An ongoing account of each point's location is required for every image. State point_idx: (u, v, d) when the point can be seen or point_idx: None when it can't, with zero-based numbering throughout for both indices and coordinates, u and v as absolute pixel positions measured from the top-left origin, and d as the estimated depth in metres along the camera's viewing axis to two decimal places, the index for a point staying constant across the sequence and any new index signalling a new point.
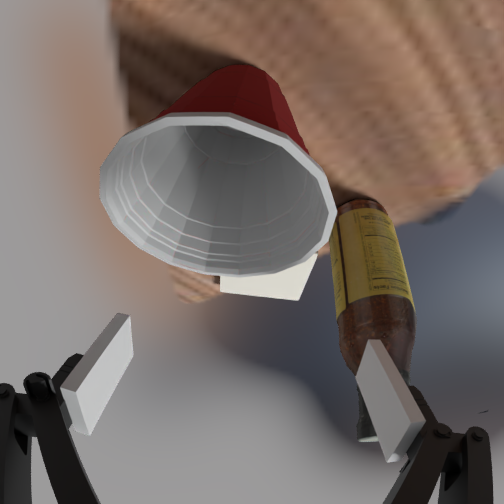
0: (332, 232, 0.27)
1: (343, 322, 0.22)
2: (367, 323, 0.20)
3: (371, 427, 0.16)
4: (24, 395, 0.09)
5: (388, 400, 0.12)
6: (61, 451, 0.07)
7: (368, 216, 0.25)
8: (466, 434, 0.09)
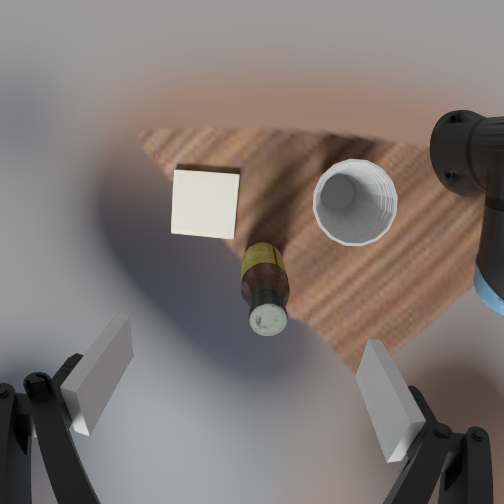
0: (268, 245, 0.48)
1: (271, 266, 0.40)
2: (285, 277, 0.40)
3: (281, 304, 0.33)
4: (24, 395, 0.09)
5: (388, 400, 0.12)
6: (61, 451, 0.07)
7: None
8: (466, 434, 0.09)
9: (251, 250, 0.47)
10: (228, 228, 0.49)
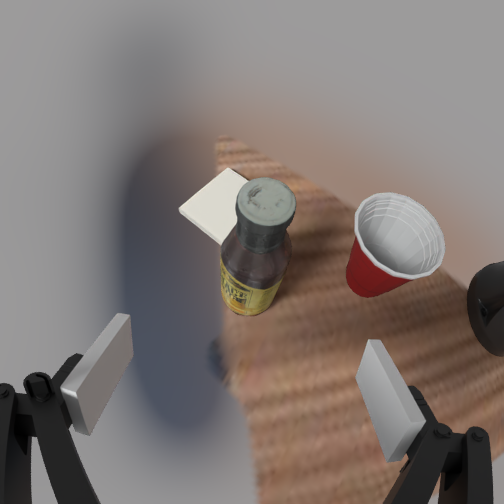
0: None
1: None
2: None
3: None
4: (24, 395, 0.09)
5: (388, 400, 0.12)
6: (61, 451, 0.07)
7: (272, 299, 0.36)
8: (466, 434, 0.09)
9: None
10: None
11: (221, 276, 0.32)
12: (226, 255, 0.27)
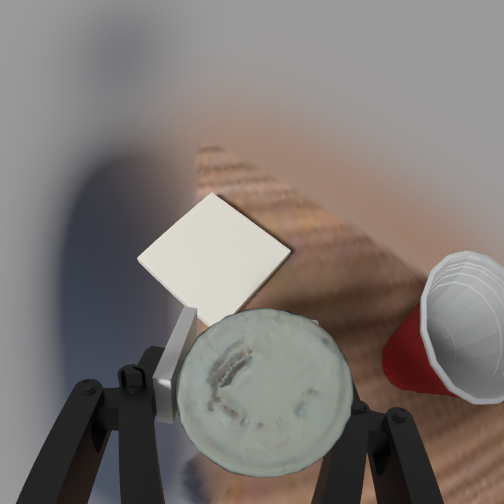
0: None
1: None
2: None
3: None
4: (109, 389, 0.11)
5: None
6: (140, 444, 0.08)
7: None
8: (386, 417, 0.11)
9: None
10: (221, 311, 0.26)
11: None
12: None
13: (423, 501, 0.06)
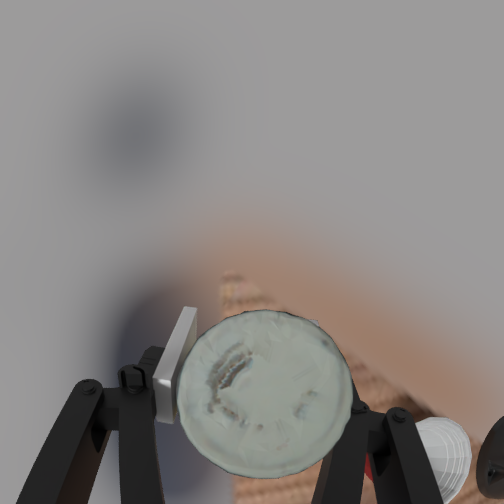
0: None
1: None
2: None
3: None
4: (109, 389, 0.11)
5: None
6: (140, 444, 0.08)
7: None
8: (386, 417, 0.11)
9: None
10: None
11: None
12: None
13: (423, 501, 0.06)
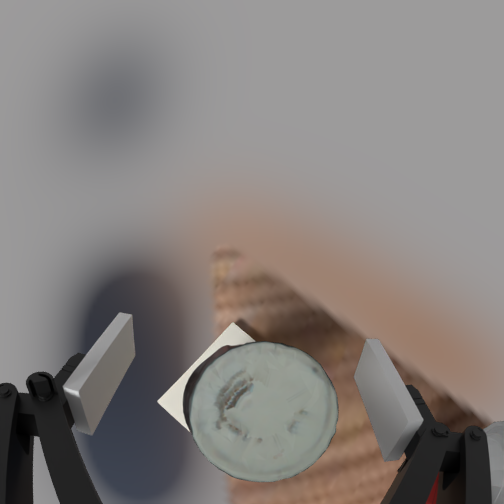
0: None
1: None
2: None
3: None
4: (26, 395, 0.09)
5: (386, 399, 0.12)
6: (63, 451, 0.07)
7: None
8: (464, 433, 0.09)
9: None
10: None
11: None
12: None
13: None
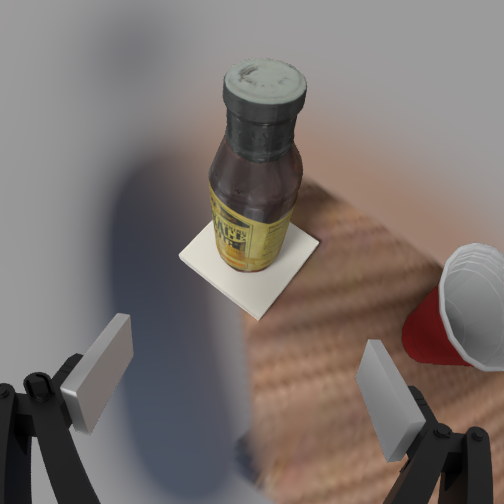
0: None
1: None
2: None
3: None
4: (24, 395, 0.09)
5: (388, 400, 0.12)
6: (61, 451, 0.07)
7: (280, 249, 0.29)
8: (466, 434, 0.09)
9: None
10: (262, 300, 0.30)
11: None
12: (215, 175, 0.19)
13: None
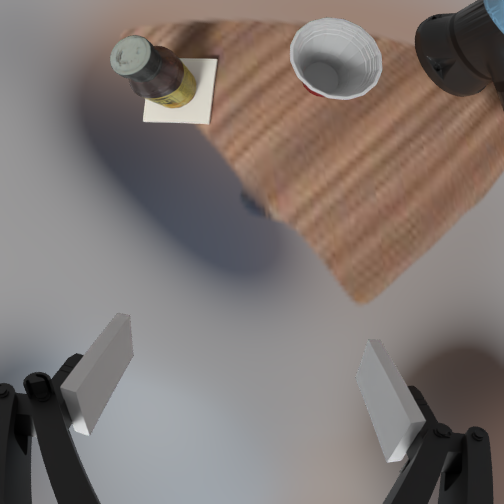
0: None
1: None
2: (175, 55, 0.29)
3: None
4: (24, 395, 0.09)
5: (388, 400, 0.12)
6: (61, 451, 0.07)
7: (195, 82, 0.38)
8: (466, 434, 0.09)
9: None
10: (204, 112, 0.42)
11: None
12: (137, 91, 0.29)
13: None
